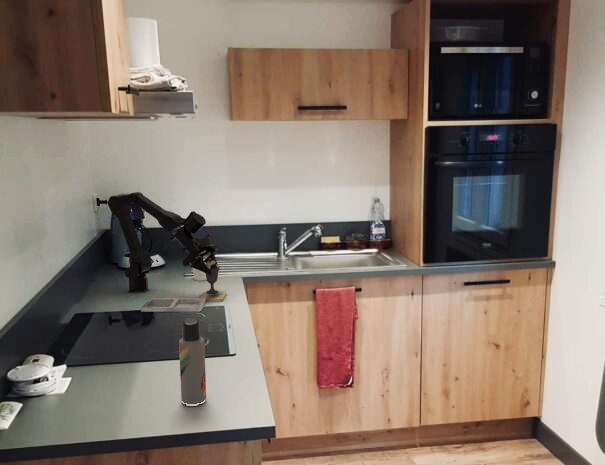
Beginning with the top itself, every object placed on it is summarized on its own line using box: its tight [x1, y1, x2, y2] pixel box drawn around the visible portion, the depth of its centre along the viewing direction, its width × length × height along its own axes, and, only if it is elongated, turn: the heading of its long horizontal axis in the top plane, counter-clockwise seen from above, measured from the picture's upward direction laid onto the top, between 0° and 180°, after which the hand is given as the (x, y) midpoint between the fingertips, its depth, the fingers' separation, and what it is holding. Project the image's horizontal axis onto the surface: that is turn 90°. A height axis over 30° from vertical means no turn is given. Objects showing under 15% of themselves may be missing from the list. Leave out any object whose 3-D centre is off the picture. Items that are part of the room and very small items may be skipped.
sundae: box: [205, 254, 221, 294], centre depth 208 cm, size 7×7×15 cm
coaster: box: [198, 291, 227, 303], centre depth 209 cm, size 9×9×1 cm
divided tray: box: [140, 298, 207, 313], centre depth 198 cm, size 21×11×2 cm, turn 89°
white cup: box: [192, 258, 207, 282], centre depth 237 cm, size 8×8×10 cm
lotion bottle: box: [178, 316, 207, 404], centre depth 126 cm, size 6×6×20 cm
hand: (214, 272), depth 207 cm, fingers closed on sundae, 6 cm apart
